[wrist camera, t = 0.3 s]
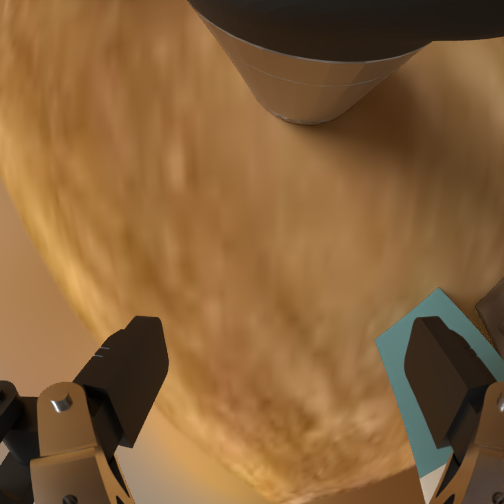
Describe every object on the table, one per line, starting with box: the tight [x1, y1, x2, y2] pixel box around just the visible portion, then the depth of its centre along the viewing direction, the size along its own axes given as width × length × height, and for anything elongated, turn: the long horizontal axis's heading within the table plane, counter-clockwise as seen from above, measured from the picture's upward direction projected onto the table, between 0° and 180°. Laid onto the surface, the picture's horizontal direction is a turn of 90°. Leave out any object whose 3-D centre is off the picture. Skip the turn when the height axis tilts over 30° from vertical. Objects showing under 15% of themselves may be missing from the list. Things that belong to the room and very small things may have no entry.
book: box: [375, 287, 504, 504], centre depth 18 cm, size 8×4×20 cm, turn 134°
